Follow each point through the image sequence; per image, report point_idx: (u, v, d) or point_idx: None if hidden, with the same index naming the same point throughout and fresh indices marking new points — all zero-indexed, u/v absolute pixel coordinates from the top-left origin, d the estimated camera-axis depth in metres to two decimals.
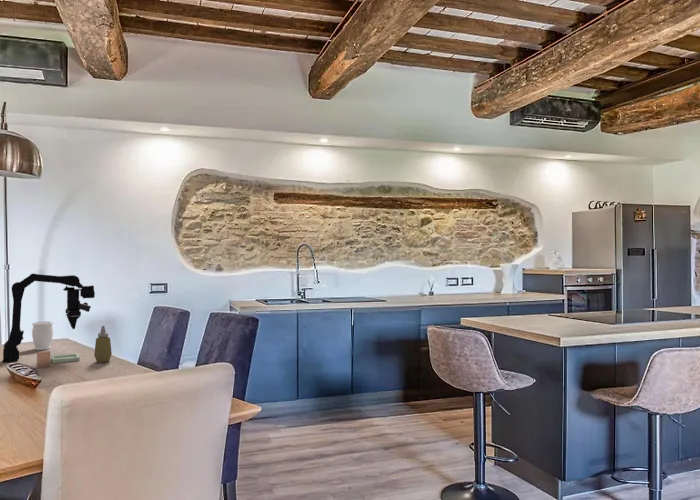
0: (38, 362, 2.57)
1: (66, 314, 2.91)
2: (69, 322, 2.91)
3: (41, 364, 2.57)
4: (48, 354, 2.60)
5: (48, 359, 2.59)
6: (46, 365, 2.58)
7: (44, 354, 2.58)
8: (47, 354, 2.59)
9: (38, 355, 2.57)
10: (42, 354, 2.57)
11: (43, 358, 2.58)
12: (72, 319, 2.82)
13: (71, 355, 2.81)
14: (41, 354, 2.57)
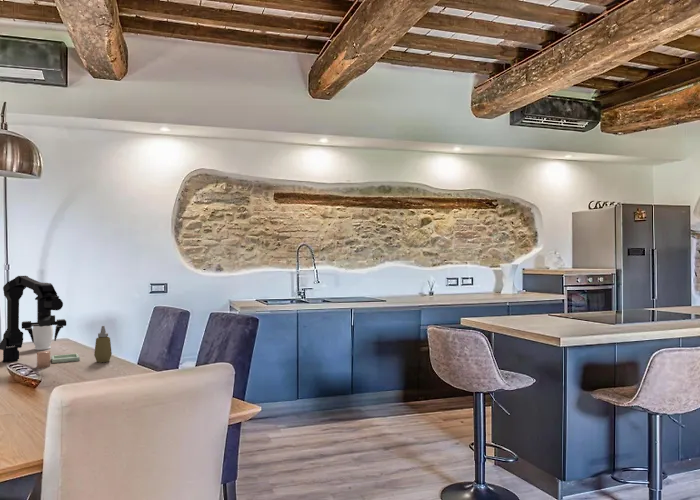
0: (38, 362, 2.57)
1: None
2: None
3: (41, 364, 2.57)
4: (48, 354, 2.60)
5: (48, 359, 2.59)
6: (46, 365, 2.58)
7: (44, 354, 2.58)
8: (47, 354, 2.59)
9: (38, 355, 2.57)
10: (42, 354, 2.57)
11: (43, 358, 2.58)
12: None
13: (71, 355, 2.81)
14: (41, 354, 2.57)
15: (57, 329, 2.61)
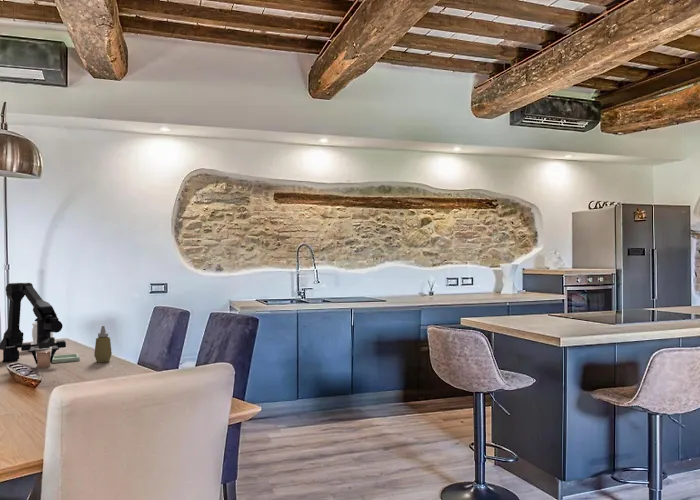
0: (38, 362, 2.57)
1: None
2: (50, 357, 2.63)
3: (41, 364, 2.57)
4: (48, 354, 2.60)
5: (48, 359, 2.59)
6: (46, 365, 2.58)
7: (44, 354, 2.58)
8: (47, 354, 2.59)
9: (38, 355, 2.57)
10: (42, 354, 2.57)
11: (43, 358, 2.58)
12: None
13: (71, 355, 2.81)
14: (41, 354, 2.57)
15: (53, 351, 2.60)
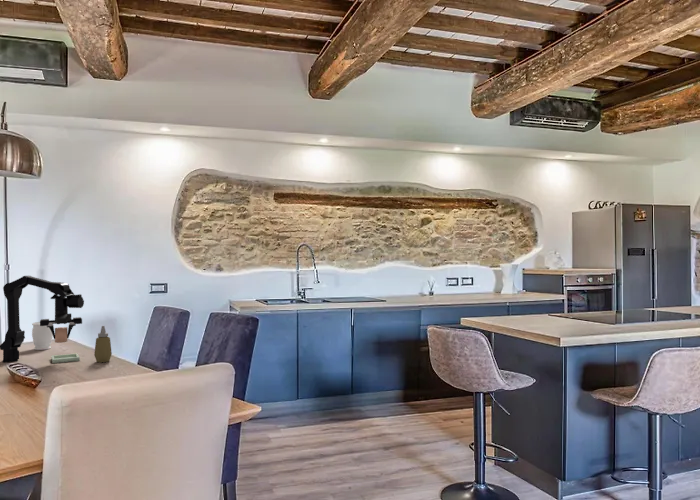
0: (56, 337, 2.70)
1: None
2: None
3: (58, 339, 2.69)
4: (66, 330, 2.71)
5: (65, 334, 2.71)
6: (63, 340, 2.70)
7: (61, 330, 2.70)
8: (64, 330, 2.71)
9: (56, 330, 2.69)
10: (60, 329, 2.69)
11: (60, 333, 2.70)
12: None
13: (71, 355, 2.81)
14: (59, 330, 2.69)
15: (70, 327, 2.72)
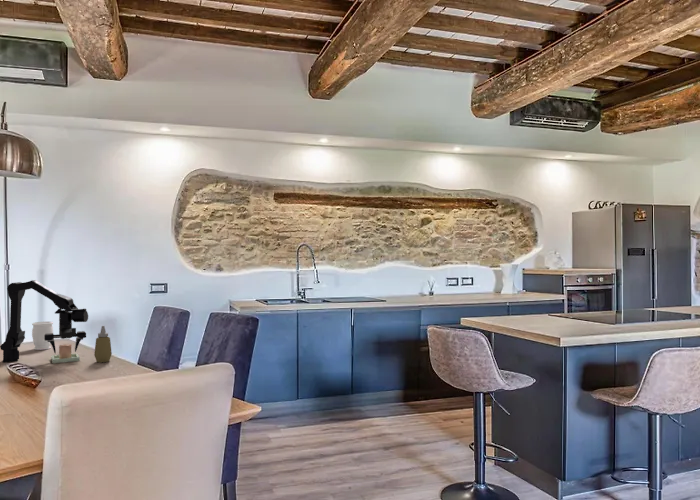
0: (60, 354, 2.73)
1: (76, 337, 2.81)
2: (75, 346, 2.79)
3: (62, 356, 2.73)
4: (70, 347, 2.75)
5: (69, 351, 2.75)
6: (68, 357, 2.74)
7: (66, 347, 2.73)
8: (68, 347, 2.74)
9: (60, 347, 2.73)
10: (64, 347, 2.73)
11: (65, 351, 2.73)
12: None
13: (71, 355, 2.81)
14: (63, 347, 2.73)
15: (77, 341, 2.77)
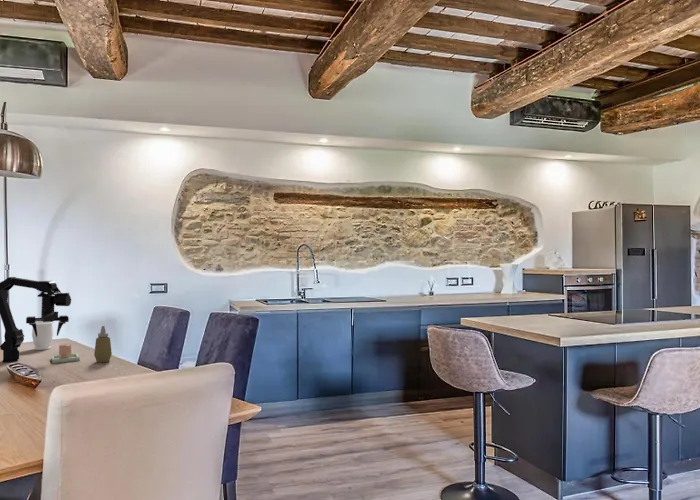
0: (60, 354, 2.73)
1: None
2: (57, 330, 2.78)
3: (62, 356, 2.73)
4: (70, 347, 2.75)
5: (69, 351, 2.75)
6: (68, 357, 2.74)
7: (66, 347, 2.73)
8: (68, 347, 2.74)
9: (60, 347, 2.73)
10: (64, 347, 2.73)
11: (65, 351, 2.73)
12: None
13: (71, 355, 2.81)
14: (63, 347, 2.73)
15: (60, 325, 2.75)
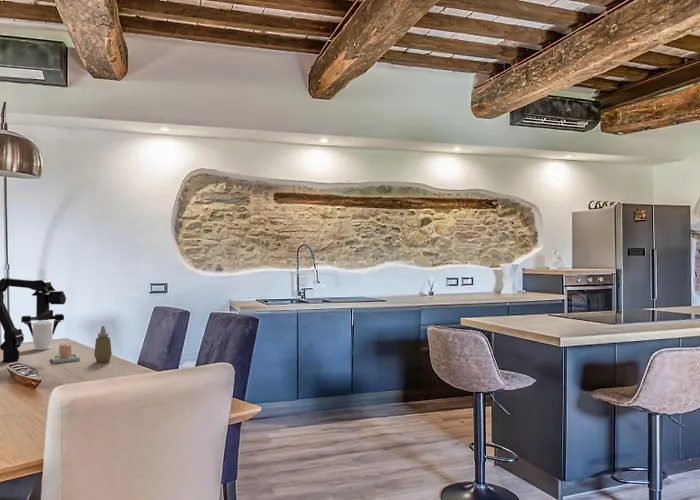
0: (60, 354, 2.73)
1: (54, 320, 2.79)
2: None
3: (62, 356, 2.73)
4: (70, 347, 2.75)
5: (69, 351, 2.75)
6: (68, 357, 2.74)
7: (66, 347, 2.73)
8: (68, 347, 2.74)
9: (60, 347, 2.73)
10: (64, 347, 2.73)
11: (65, 351, 2.73)
12: None
13: (71, 355, 2.81)
14: (63, 347, 2.73)
15: (55, 323, 2.75)
